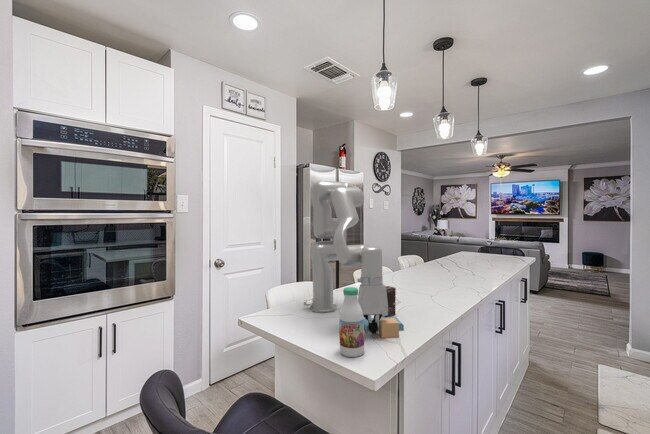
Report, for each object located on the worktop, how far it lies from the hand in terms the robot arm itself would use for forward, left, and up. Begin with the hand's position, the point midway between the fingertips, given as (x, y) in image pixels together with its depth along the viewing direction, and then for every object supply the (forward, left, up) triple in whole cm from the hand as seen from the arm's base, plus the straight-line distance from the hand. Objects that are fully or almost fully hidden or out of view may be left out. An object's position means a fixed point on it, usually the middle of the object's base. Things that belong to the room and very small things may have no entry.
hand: (373, 332), depth 104 cm
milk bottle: (-10, -12, -1) cm, 15 cm away
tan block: (+6, 0, -1) cm, 6 cm away
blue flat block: (+5, +8, -1) cm, 10 cm away
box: (+11, +21, -1) cm, 24 cm away
